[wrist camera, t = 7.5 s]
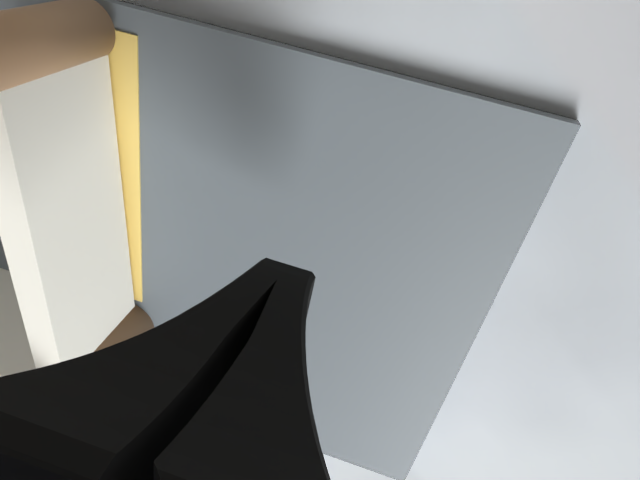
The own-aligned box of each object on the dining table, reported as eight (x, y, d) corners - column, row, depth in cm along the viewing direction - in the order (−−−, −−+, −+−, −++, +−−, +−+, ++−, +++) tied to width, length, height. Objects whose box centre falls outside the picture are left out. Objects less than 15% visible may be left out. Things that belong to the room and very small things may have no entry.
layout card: (404, 473, 22) (403, 483, 21) (-79, 302, 24) (-87, 308, 24) (578, 120, 13) (580, 126, 12) (-211, -86, 16) (-227, -86, 15)
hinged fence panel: (141, 308, 19) (56, 405, 15) (104, 297, 20) (10, 390, 16) (112, 2, 14) (-39, 32, 10) (59, -9, 14) (-109, 18, 10)
